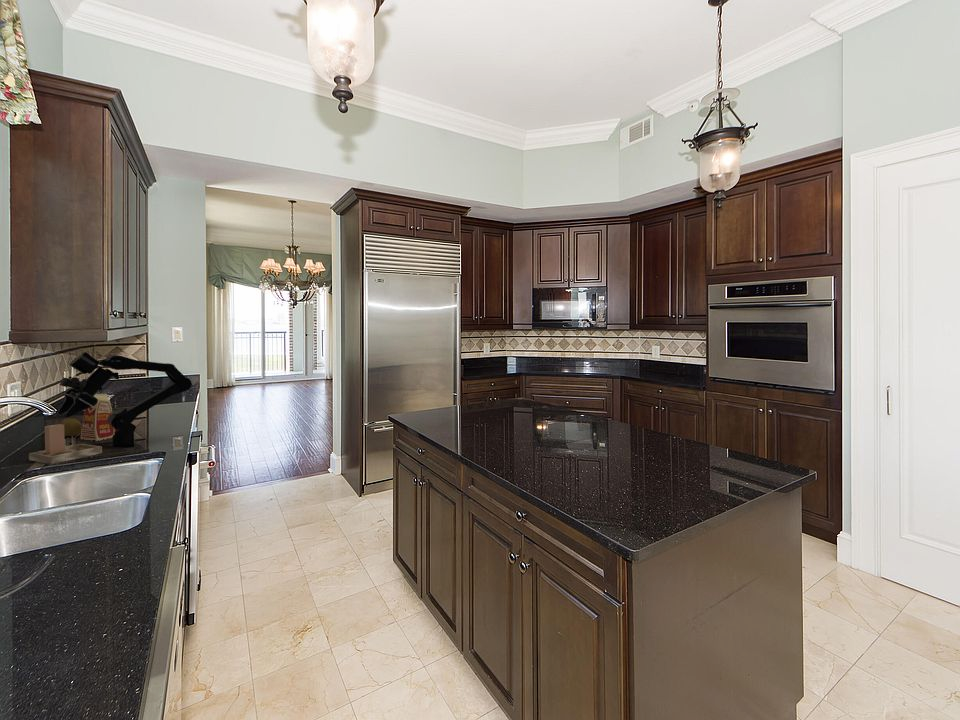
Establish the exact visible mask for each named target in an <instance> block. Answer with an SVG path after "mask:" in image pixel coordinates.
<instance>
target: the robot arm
mask: <svg viewBox="0 0 960 720" xmlns="http://www.w3.org/2000/svg"><path fill="white" fill-rule="evenodd" d="M68 365H69V366H70V367H72V368H73V369H74V370H76V371H79V372H80V373H82V375H86V374H89V376H88V377H87V378H83V379H82V380H81V381H80V378H78V377H74V376H72V377H71V378H68V377H64V376H63V377H62V379H61V381H60V383H59V386H61V387H65V388H66V390H64V391H63V396H64V397H63V398H64V400H63V403H62V404H61V406H60V408H59V409H58V411H57V414H58V415H63V414H64V413H65V414H64V417H65V418H66V419H69V418H70V417H72V416H74V415H76V414H78V413H80V412H83V411H85V409H87V408H90V407H92V406H95V405H96V404H97V403H98V400H97V398H95V397H93V396H94V395H95V394H96V393H97V394H98V392H99V391H100V392H102V390H104V388H103V387H104V386H105V385H106V384H107V383H108V382H109V381H110V380H111V379H112V378H113V379H115V380H119V379H120V377H119V372H118V371H125V370H127V371H128V370H141V371H152V372H162V373H165V374H166V376H167V378H168V379H169V380H170V381H169V382H168V383H167V384H166V385H165V386H164V387H163V388H162V389H160V390H158V391H156V392H155V393H153V394H151V395H150V396H148V397H146V398H144V399H143V400H141V401H139V402H137V403H135V404H134V405H132V406H130V407H127V408H126V407H125V406H120V407H119V408H117V409H116V410H114V411H112V412H111V413H113V414H111V415H109V417H108V420H107V421H108V424H109V425H110V426H112V427H113V428H114V429H115V432H114V435H113V437H112V446H113V447H114V448H129V447H135V446H136V442H135V441H136V440H135V430H136V428H137V426H136V425H135V424H133V422H134V421H135V419H137V417H138V416H140V415H141V414H143V413H145V412H146V411H148V410H150V409H151V408H153V407H155V406H156V405H158V404H160V403H161V402H163V401H165V400H166V399H168V398H171V397H172V396H175V395H178V394H181V393H184V392H186V391H189V390H190V389H191V388H192V386H193V383H192V381H191V378H188V377H185V375H184V374H183V373H182V372H181V371H180V370H178V368H177V367H176V366H175V364H173V363H167V362H166V363H163V362H156V361H149V360H147V361H146V360H139V359H138V360H137V359H133V358H130V357H126V356H122V355H119V354H110V355H109V356H107V357H106V358H102V359H96V358H95V357H93V356H92V355H90V354H89V352H86V351H84V352H82V353H81V354H79V355H78V356H76V357H75V358H74V359H73V360H72V361H71V362H70V363H69V364H68ZM101 366H102V367H101ZM103 367H107V368H103ZM111 369H112V370H111ZM113 370H116V371H117V372H114V371H113ZM90 405H92V406H90Z"/></svg>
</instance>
